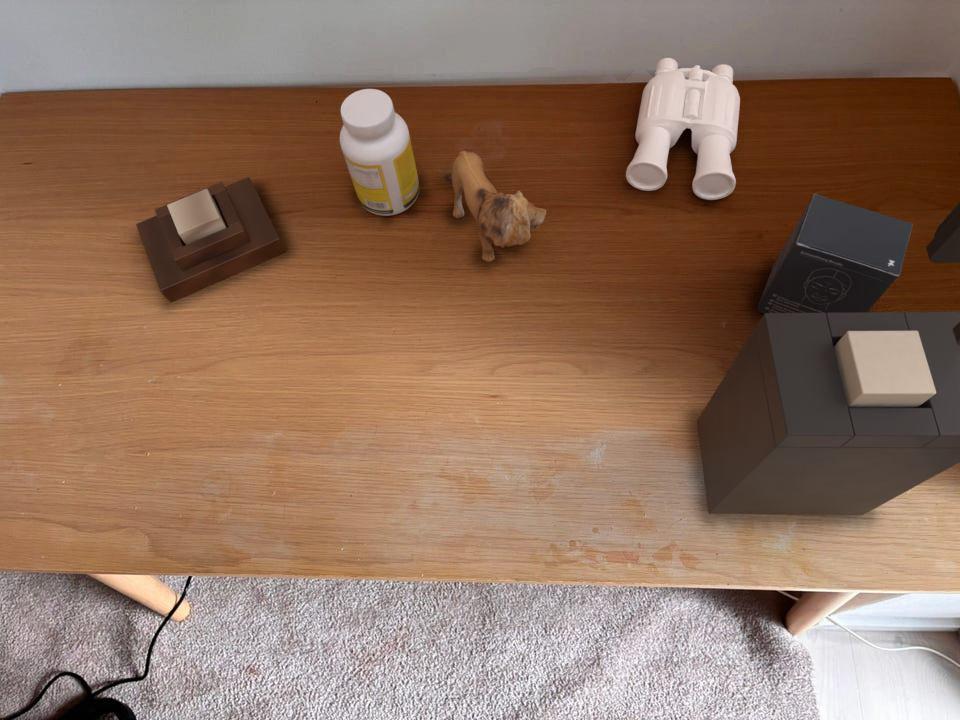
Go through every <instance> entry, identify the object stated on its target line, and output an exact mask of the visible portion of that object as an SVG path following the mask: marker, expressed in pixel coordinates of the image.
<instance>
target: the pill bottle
mask: <svg viewBox="0 0 960 720" xmlns="http://www.w3.org/2000/svg"><path fill="white" fill-rule="evenodd" d="M340 116H341V119H342V120H341V121H342V124H343V125H342V127H341V130H340V131H339V132H340V133H339V145H340V149H341V152H342V155H343V157H344V160H345V164H346V167H347V170H348V173H349V176H350V178H351V181H352V184H353V187H354V191H355V194H356V197H357V199H358V201H359V203H360V205H361V207H363V208H364V209H365V210H367V211H368V212H369V213H371V214H373V215H377V216H383V217H388V216H395V215H399V214H401V213H403V212H405V211H407V210H408V209H409V208H411V207H412V206H413V205H414V204H415V203H416V202H417V199H418V197H419V194H420V180H419V175H418V171H417V170H418V169H417V165H416V160H415V156H414V151H413V146H412V140H411V135H410V131H409V127H408V125H407V123H406V121H405V120H404V119H403V117H402V116H400V114H398V113H397V112H396V111H395V107H394V104H393V100H392V99H391V97H390V96H389V95H388V94H387V93H386V92H384V91H382V90H380V89H376V88H363V89H360V90H356V91H354V92H352V93H351V94H349V95H348V96H347V97H345V99H344V100H343V101H342V103H341V106H340Z"/></svg>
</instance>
